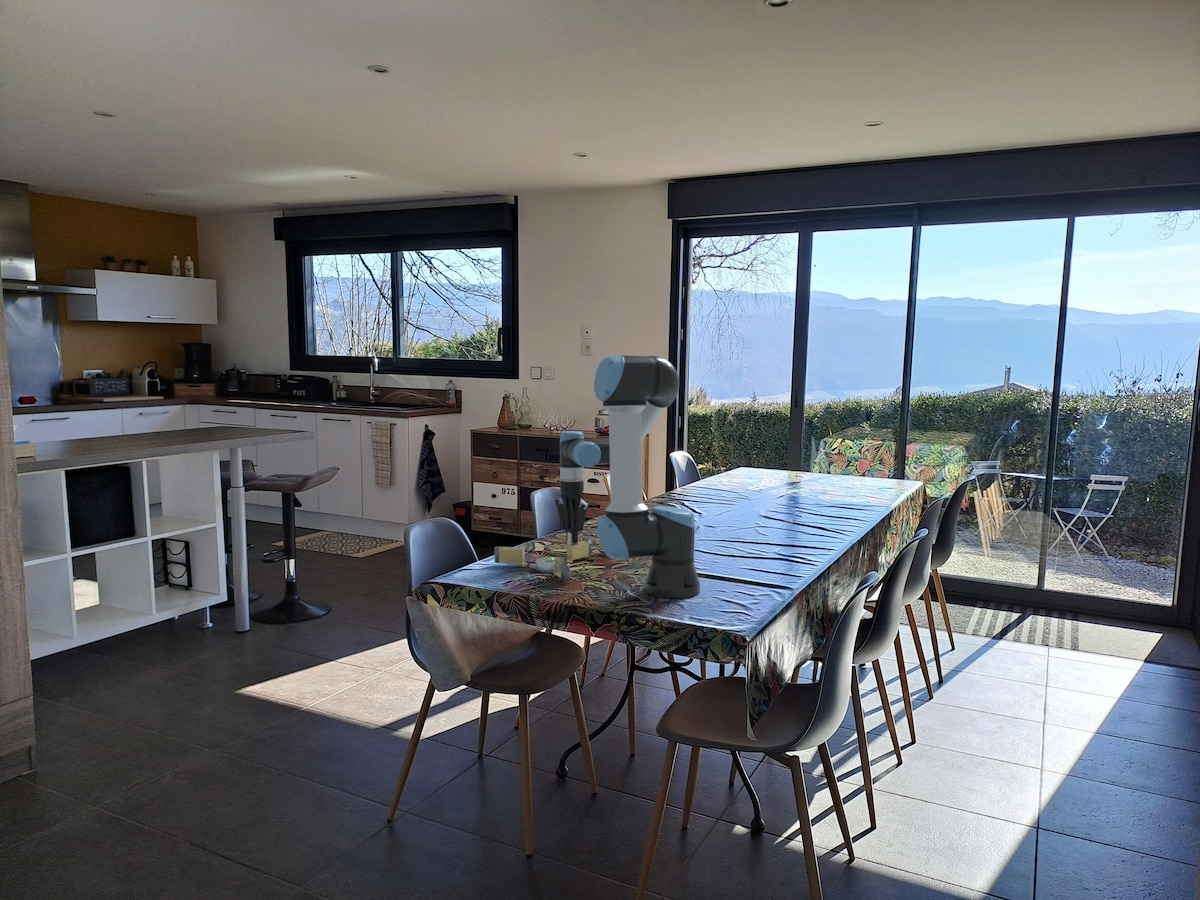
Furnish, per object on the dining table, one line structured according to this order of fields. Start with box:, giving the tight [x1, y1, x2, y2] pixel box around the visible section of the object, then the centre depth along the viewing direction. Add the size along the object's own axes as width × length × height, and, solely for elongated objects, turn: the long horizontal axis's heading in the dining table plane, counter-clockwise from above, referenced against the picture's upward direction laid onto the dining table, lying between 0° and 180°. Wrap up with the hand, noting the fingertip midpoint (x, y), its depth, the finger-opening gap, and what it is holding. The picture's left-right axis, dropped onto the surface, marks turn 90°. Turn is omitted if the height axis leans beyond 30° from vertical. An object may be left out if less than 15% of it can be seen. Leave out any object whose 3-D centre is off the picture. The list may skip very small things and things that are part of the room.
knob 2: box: [566, 539, 592, 564], centre depth 252 cm, size 10×3×6 cm, turn 138°
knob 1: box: [553, 556, 571, 581], centre depth 231 cm, size 10×3×6 cm, turn 18°
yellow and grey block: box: [494, 546, 528, 568], centre depth 245 cm, size 10×3×6 cm, turn 78°
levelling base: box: [529, 556, 555, 575], centre depth 243 cm, size 12×11×3 cm
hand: (572, 552), depth 256 cm, fingers closed
